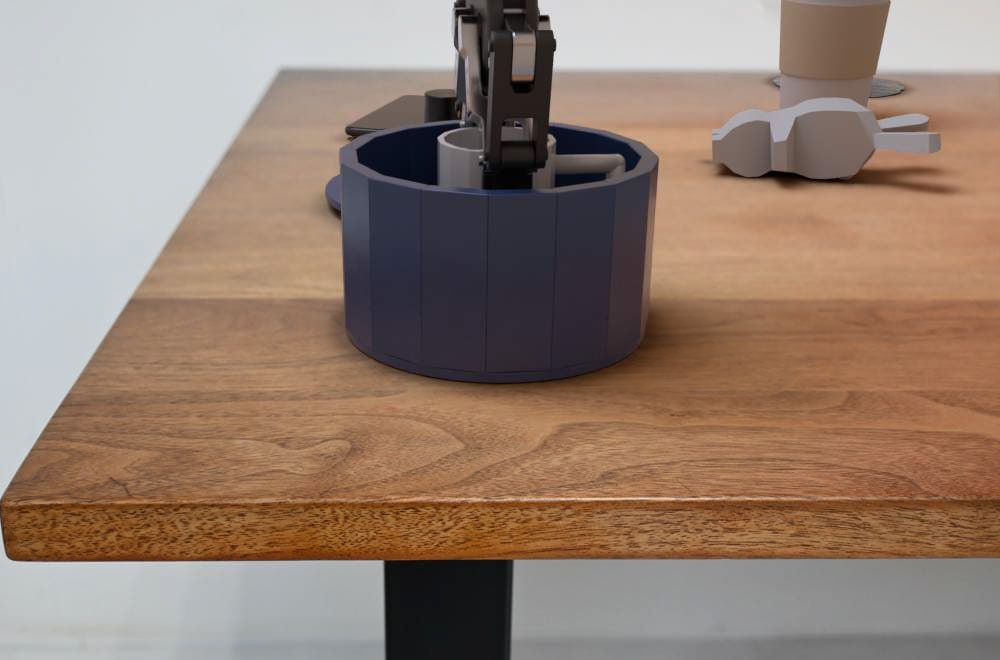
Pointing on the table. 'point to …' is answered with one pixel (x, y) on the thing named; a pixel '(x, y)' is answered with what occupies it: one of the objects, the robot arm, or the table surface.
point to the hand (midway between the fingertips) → (495, 231)
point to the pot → (495, 260)
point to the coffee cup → (829, 49)
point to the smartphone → (390, 116)
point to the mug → (463, 143)
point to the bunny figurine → (816, 139)
